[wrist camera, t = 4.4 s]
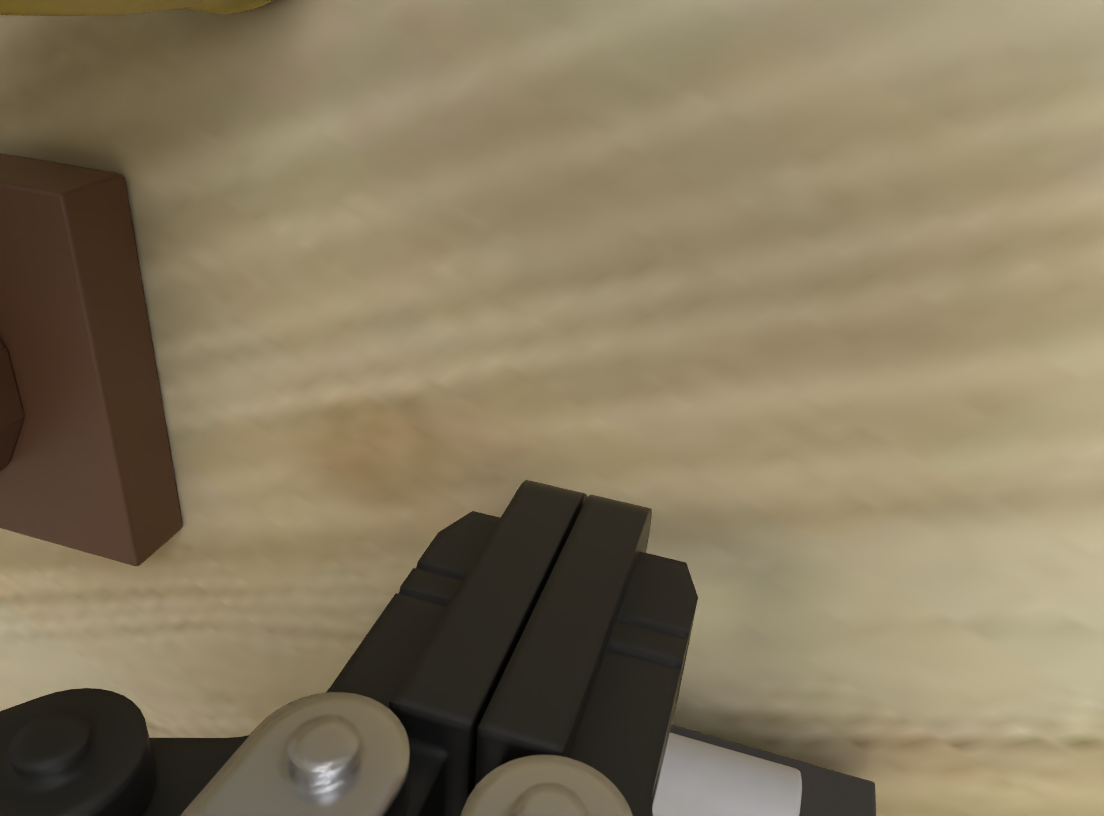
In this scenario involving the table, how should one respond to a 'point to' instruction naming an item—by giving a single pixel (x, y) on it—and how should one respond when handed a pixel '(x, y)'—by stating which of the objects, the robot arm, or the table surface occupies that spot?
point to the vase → (121, 6)
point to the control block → (78, 369)
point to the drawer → (751, 782)
